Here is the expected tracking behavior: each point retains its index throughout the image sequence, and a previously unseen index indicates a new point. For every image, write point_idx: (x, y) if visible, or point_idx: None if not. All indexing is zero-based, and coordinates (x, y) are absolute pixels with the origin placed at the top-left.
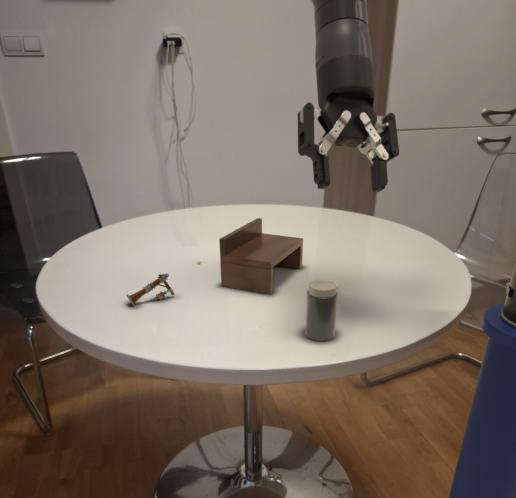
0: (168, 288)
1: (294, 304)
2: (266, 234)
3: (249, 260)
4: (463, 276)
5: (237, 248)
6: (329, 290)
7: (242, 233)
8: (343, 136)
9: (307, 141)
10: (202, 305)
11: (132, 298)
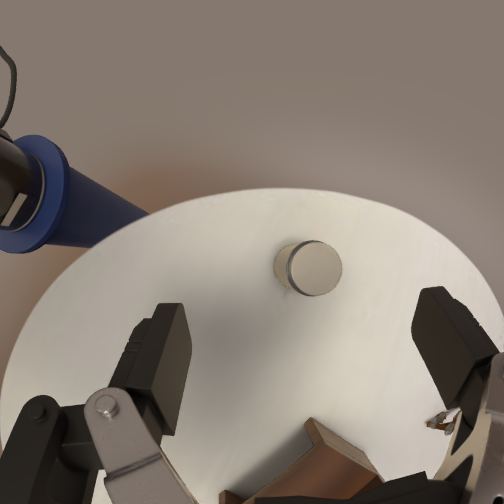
0: (438, 423)
1: (289, 377)
2: None
3: (351, 458)
4: (6, 372)
5: None
6: (315, 242)
7: None
8: (426, 489)
9: None
10: (407, 395)
11: None
